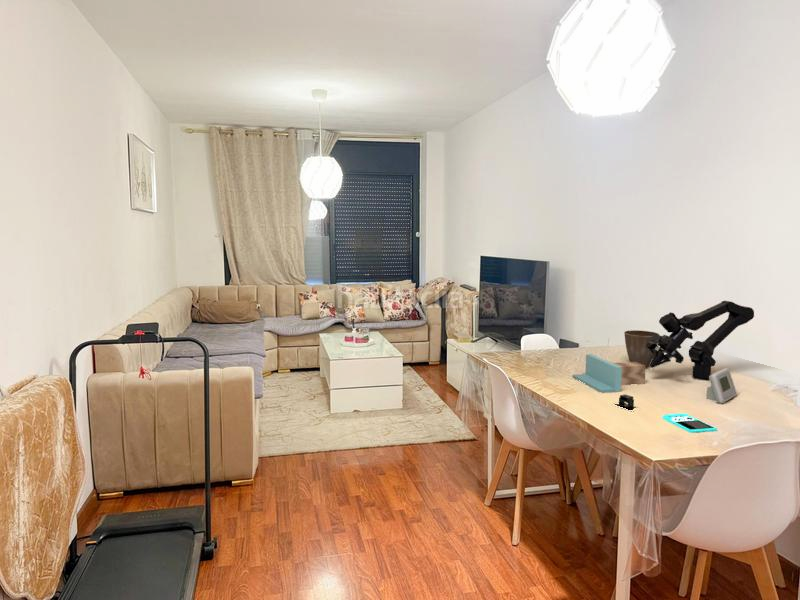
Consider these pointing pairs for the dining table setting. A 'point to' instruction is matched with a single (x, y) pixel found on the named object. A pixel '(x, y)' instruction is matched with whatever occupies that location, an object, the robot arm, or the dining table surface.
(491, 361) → the dining table surface
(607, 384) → the teal board
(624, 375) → the walnut block
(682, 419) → the handheld game console
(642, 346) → the plant pot
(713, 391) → the digital clock
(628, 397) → the black block on plate
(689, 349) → the robot arm
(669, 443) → the dining table surface
